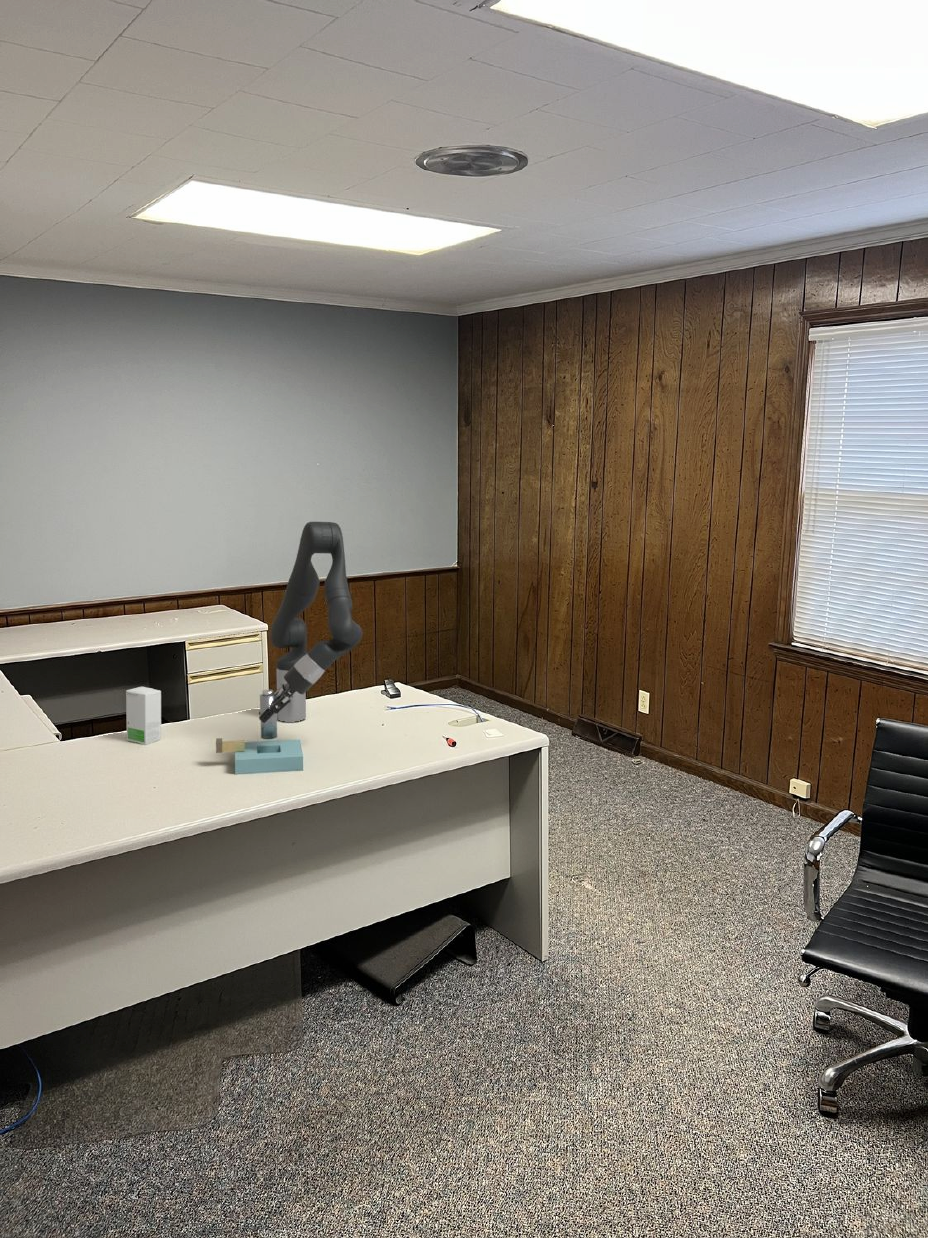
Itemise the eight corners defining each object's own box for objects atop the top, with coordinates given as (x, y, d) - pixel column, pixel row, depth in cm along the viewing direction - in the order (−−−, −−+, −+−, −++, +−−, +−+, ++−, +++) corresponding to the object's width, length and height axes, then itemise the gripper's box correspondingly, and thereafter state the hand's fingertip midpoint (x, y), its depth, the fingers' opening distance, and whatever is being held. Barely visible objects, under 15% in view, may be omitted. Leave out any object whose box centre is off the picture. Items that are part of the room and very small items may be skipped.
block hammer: (216, 749, 251) (216, 738, 250) (244, 748, 253) (244, 737, 252) (216, 753, 248) (215, 741, 247) (244, 751, 249) (244, 740, 249)
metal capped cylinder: (260, 735, 254) (259, 689, 251) (276, 734, 254) (275, 688, 252) (261, 739, 249) (259, 693, 247) (277, 738, 250) (276, 692, 248)
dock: (236, 755, 259) (236, 742, 258) (300, 752, 263) (300, 739, 262) (235, 774, 243) (235, 760, 243) (303, 770, 248) (303, 756, 247)
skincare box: (126, 741, 271) (123, 690, 268) (143, 735, 277) (141, 685, 274) (146, 745, 267) (144, 694, 265) (163, 739, 273) (161, 689, 270)
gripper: (293, 659, 257) (251, 703, 256) (295, 670, 243) (250, 716, 243) (312, 677, 259) (270, 720, 258) (316, 688, 245) (271, 734, 245)
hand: (261, 718), depth 251 cm, fingers closed on metal capped cylinder, 4 cm apart
